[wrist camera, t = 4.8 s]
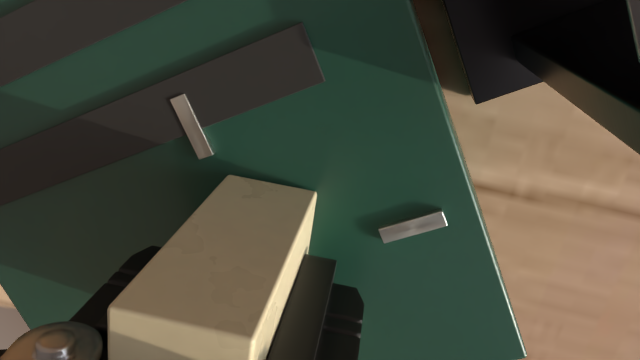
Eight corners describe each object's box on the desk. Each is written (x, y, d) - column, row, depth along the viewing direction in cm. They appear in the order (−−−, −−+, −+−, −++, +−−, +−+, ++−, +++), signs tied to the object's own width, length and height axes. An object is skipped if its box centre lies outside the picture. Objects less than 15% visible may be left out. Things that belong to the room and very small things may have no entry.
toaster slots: (251, -109, 9) (249, -111, 9) (326, 80, 10) (325, 81, 10) (-101, 71, 12) (-106, 71, 12) (-13, 210, 13) (-17, 212, 13)
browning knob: (227, 173, 11) (94, 318, 6) (318, 190, 11) (249, 353, 6) (214, 336, 13) (100, 547, 8) (292, 353, 13) (223, 580, 8)
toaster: (374, -114, 19) (334, -225, 8) (475, 189, 22) (533, 373, 12) (104, 15, 22) (-164, 49, 12) (228, 262, 25) (106, 457, 15)
